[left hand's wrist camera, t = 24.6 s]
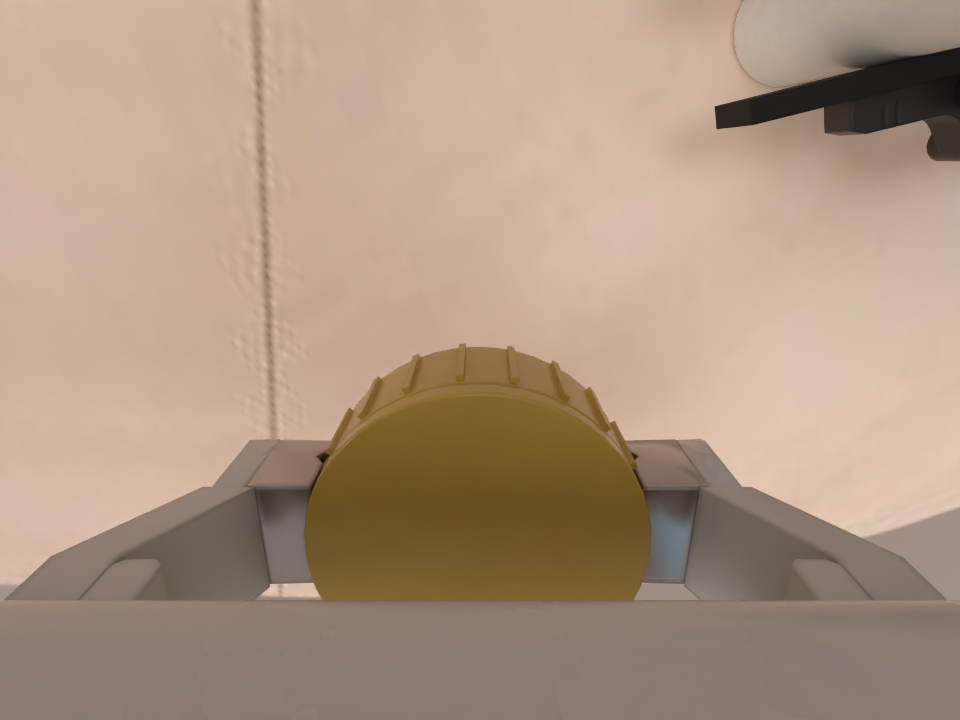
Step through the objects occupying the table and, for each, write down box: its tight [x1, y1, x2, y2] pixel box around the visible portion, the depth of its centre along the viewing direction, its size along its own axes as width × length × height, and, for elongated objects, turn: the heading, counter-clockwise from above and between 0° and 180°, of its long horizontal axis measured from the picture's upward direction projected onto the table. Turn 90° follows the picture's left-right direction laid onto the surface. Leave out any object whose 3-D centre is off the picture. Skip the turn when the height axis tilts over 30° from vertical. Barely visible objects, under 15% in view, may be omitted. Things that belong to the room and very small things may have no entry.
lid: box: [304, 344, 651, 600], centre depth 9 cm, size 5×5×2 cm
